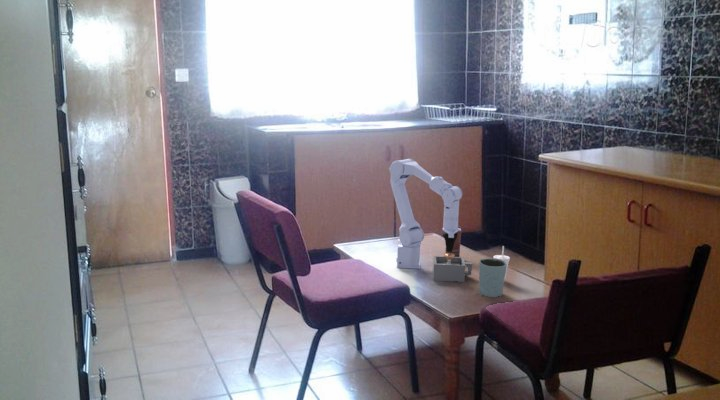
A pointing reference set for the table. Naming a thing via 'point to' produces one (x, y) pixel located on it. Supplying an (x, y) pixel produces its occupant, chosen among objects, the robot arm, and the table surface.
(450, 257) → the plunger
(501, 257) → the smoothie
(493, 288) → the teal plant pot
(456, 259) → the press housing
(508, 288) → the table surface
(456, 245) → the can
